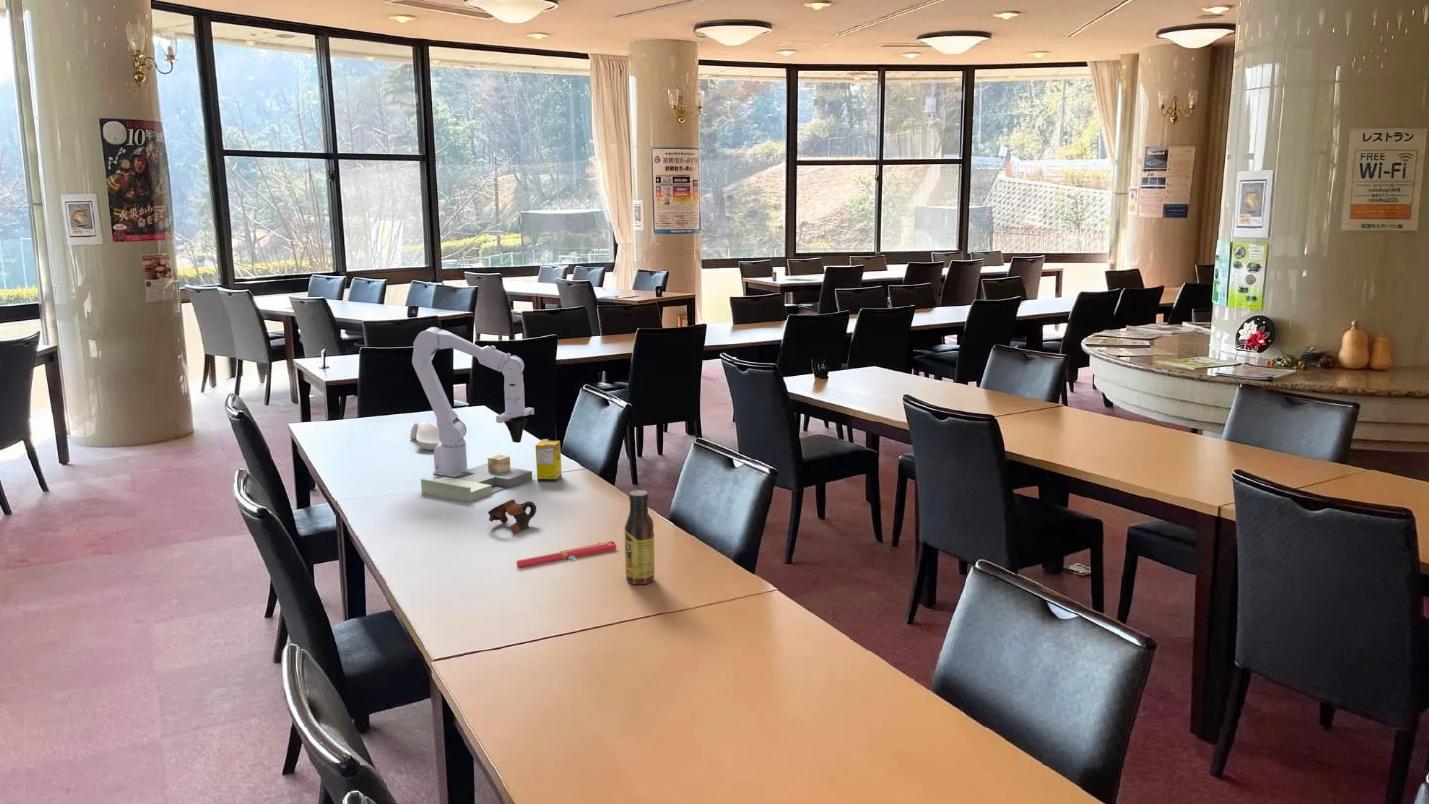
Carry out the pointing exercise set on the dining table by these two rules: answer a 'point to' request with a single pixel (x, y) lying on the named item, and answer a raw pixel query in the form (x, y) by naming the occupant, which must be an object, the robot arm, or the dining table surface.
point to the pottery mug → (514, 514)
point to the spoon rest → (425, 435)
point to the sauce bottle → (639, 540)
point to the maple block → (499, 463)
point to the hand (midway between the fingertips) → (516, 442)
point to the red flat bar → (567, 554)
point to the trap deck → (475, 483)
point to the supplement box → (548, 460)
